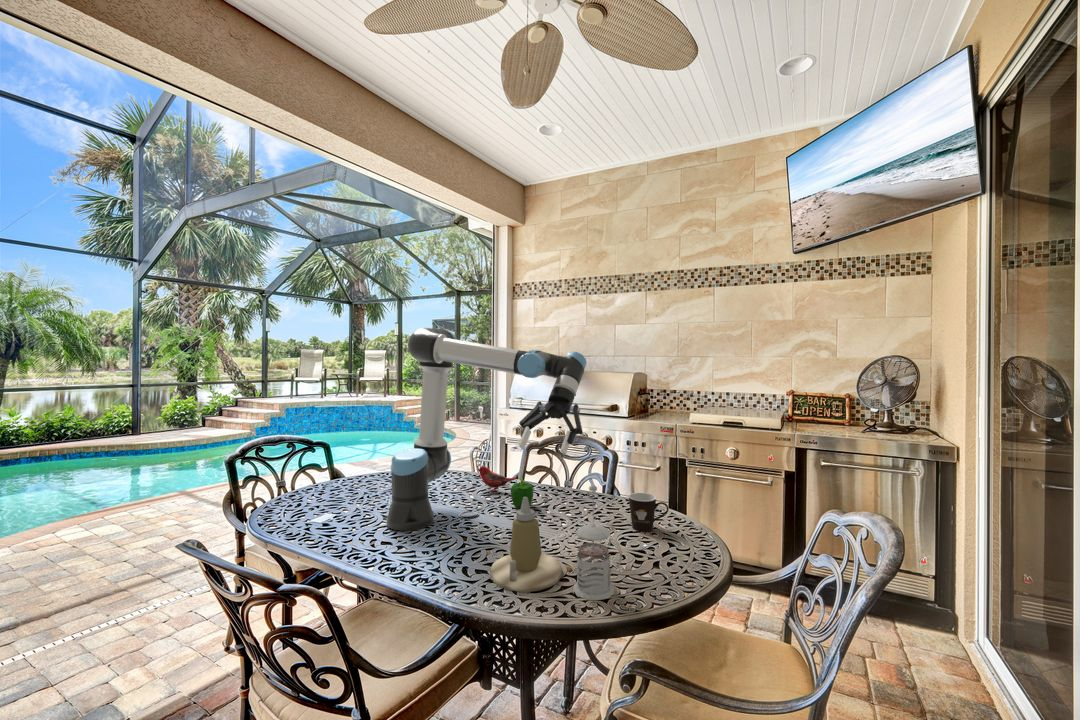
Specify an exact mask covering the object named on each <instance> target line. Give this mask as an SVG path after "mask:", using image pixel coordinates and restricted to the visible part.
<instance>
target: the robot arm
mask: <svg viewBox="0 0 1080 720" xmlns="http://www.w3.org/2000/svg"><path fill="white" fill-rule="evenodd" d="M407 349H408V352H409V354H410V356H412V358H413V359H415V360H417V361H418V362H419V367H420V369H421V370H422V371H423V373H422V384H421V385H422V388H421V400H420V401H421V405H420V417H419V433H418V434H419V435H418V438H417V439H416V440H414V442H413V443H414V444H413V448H408V449H405V450H404V449H403V450H400V451H397V452H396V453H394V455H393V456H392V458H391V464H390V472H391V473H390V474H391V475H390V477H391V502H390V507H389V510H388V513H387V516H386V527H387V526H388V527H389V528H388V527H387V528H388V529H390V528H391V529H390V530H392V529H394V530H393V531H397V530H402V531H401V532H408V531H409V532H410V531H417V530H418V531H419V530H421V529H425V528H427V527H429V526H431V525H432V524H433V523H434V522H435V514H434V513H435V512H434V511H433V509H432V508H433V507H432V505H431V502H430V499H429V483H431V482H432V481H434V480H436V479H439V478H440V477H442V476H444V474H445V473H446V472H447V471H448V470H449V468H450V466H451V464H452V456H451V452H450V451H449V449H448V441H447V440H446V439H445V438H444V436H445V435H444V434H445V424H446V423H445V422H446V420H445V419H446V405H447V395H448V394H447V393H448V392H447V391H448V377H449V372H450V371H451V370H452V369H453V367H454V364H458V365H463V366H468V367H476V368H481V369H487V370H493V371H498V372H503V373H510V374H514V375H519V376H524V377H525V378H528V379H529V378H530V379H535V378H538V377H540V376H545V377H546V376H547V377H550V378H553V379H555V381H554V384H553V386H552V389H551V391H550V395H549V396H548V400H547V402H546V403H542V401H537V403H536V405H535V406H534V407H533V408H532V409H531V410H530V411H529V412H528V413H527V414H526V415H525V416H523V418H521V420H520V421H519V425H520V427H521V429H522V430H521V432H520V437H521V438H520V440H519V442H518V446H519V448H520V449H521V451H522V450H523V451H525V448H526V446H527V444H528V441H529V439H530V435H531V433H532V431H531V430H532V429H534V428H535V427H536V426H538V425H539V424H541V423H542V422H544V421H545V420H549V419H557V420H561V419H563V420H564V422H565V424H566V426H567V427H568V429H569V430H567V431H566V433H565V436H564V439H563V442H562V444H561V448H560V451H561V453H562V455H563V456H566V455H567V452H568V451H569V450H568V449H569V447H570V445H573V443H574V440H575V438H576V436H577V435H581V436H582V435H583V433H584V432H583V427H582V426H583V425H582V422H581V418H580V417H581V416H580V412H581V409H580V407H579V405H578V404H577V403H575V404H574V405H573V403H574V400H575V398H576V395H577V392H578V388H579V386H580V383H581V380H582V378H583V375H584V373H585V369H586V366H587V359H586V357H585V356H584V355H583V354H582V353H580V352H577V351H569V352H567V354H566V355H565V356H563V355H557V354H554V353H551V352H550V353H549V352H546V351H542V350H537V349H530V350H529V351H527V350H519V349H515V348H508V347H503V346H497V345H496V346H495V345H490V344H484V343H478V342H474V341H473V342H472V341H467V340H461V339H458V338H457V337H456V335H455V334H454V333H453V332H452V331H449V330H446V329H445V328H444V329H442V328H432V327H431V328H430V327H422V328H418V329H416V330H415V331H414V332H413V333H412V334H411V335H410V336H409V338H408V342H407ZM570 412H571V413H572V414H573V419H574V423H575V426H576V427H574V425H573V424H572V422H571V420H570V418H569V417H568V414H569V413H570Z"/></svg>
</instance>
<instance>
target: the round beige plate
mask: <svg viewBox="0 0 1080 720" xmlns="http://www.w3.org/2000/svg"><path fill="white" fill-rule="evenodd" d="M562 571H563V570H562V564H561V563H560V561H559V560H558V559H556V558H555V557H553V556H552V555H548V554H545V553H541V556H540V560H539V563H538V566H537V568H536V569H535V570H533V571H529V572H521V571H518V570H516V561H515V560H512V558H511V555H510V554H507V555H505V556H502V557H500V558H498V559H497V560H495V561H494V562H493V563H492V565H491V568H490V578H491V580H492V581H493V583H494V584H496V585H497V586H499V587H501V588H503V589H505V590H509V591H514V592H521V593H522V592H537V591H542V590H545V589H548V588H550V587H552V586H554V585H556V584H557V583H558V582H559V581H560V580H561V578H562V574H563V573H562Z"/></svg>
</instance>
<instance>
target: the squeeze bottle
mask: <svg viewBox="0 0 1080 720" xmlns="http://www.w3.org/2000/svg"><path fill="white" fill-rule="evenodd" d="M535 514H536V513H535V511H534V509H531V505H530V506H529V501H528V497H523V500H522V505H521V508H519V509H518V510H516V514H515V515H516V516H515V517H516V518H515V519H514V520H513V522H512V528H511V539H510V540H511V541H510V549H509V555H511V558H512V560H515V561H516V570H518V571H521V572H529V571H533V570H535V569H536V568H537V566H538V563H539V560H540V556H541V554H543V553H542V543H541V536H540V535H541V534H540V525H539V521H538V519H537V518H536V517H535V516H536V515H535Z"/></svg>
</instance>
